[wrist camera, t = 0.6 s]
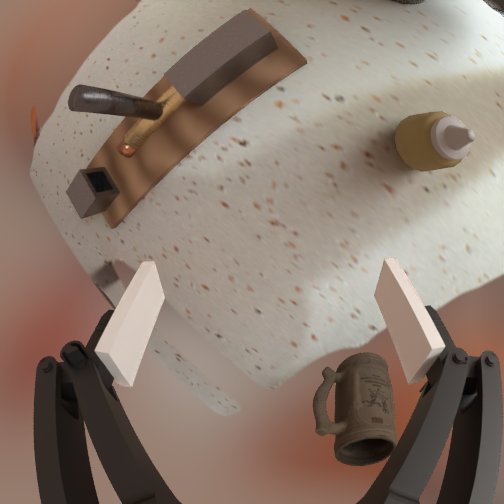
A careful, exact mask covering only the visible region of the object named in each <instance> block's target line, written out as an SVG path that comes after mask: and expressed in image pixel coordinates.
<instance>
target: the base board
mask: <svg viewBox="0 0 504 504" xmlns="http://www.w3.org/2000/svg"><path fill="white" fill-rule="evenodd" d="M247 11H248V12H249V13H250V14H251V15H252V16H254V17H255V18H256V19H257V20H258V21H260V22H261V23H262V24H263V25H264V26H265V27H266V28H267V29H269V30H270V31H271V34H272V36H273V38H274V40H275V42H276V45H277V47H278V49H277V50H275V51H274V52H272V53H271V54H269V55H268V56H266V57H265V58H263V59H262V60H260V61H259V62H258V63H256V64H255V65H253V66H252V67H251V68H249V69H248V70H247V71H245V72H244V73H242V74H241V75H240V76H239V77H237V78H236V79H235V80H233V81H232V82H231V83H229V84H228V85H227V86H226V87H224V88H223V89H222V90H221V91H219V92H218V93H217V94H216V95H215V96H213V97H212V98H211V99H210V100H209V101H207V102H206V103H205V104H204V105H203V106H201V105H198V104H196V103H193V102H191V101H188V100H187V101H185V102H184V103H183V104H182V105H181V106H180V107H179V108H178V109H177V110H176V111H175V112H174V113H173V114H172V115H171V116H170V117H169V118H168V119H167V120H166V121H165V122H164V123H163V124H162V125H161V126H160V127H159V128H158V129H157V130H156V131H155V132H154V133H153V134H152V135H151V136H150V137H149V138H148V139H147V140H146V141H145V142H144V143H143V144H142V146H141V147H140V148H139V149H138V150H137V151H136V152H135V153H134V155H133V156H132V157H131V158H126V157H124V156H122V155H121V154H120V153H119V152H118V150H117V148H116V146H117V144H118V143H119V142H120V141H121V139H122V138H123V137H124V136H125V135H126V133H127V132H128V131H129V130H130V129H131V128H132V127H133V125H134V124H135V123H136V122H137V121H138V120H139V119H140V118H133V117H125V119H124V120H123V121H122V122H121V123H120V125H119V126H118V127H117V128H116V129H115V131H114V132H113V133H112V134H111V136H110V137H109V138H108V140H107V141H106V142H105V143H104V145H103V146H102V147H101V149H100V150H99V151H98V153H97V154H96V156H95V157H94V158H93V160H92V161H91V163H90V164H89V165H88V167H87V168H86V169H90V168H98V167H105V168H106V170H107V171H108V173H109V175H110V176H111V178H112V180H113V181H114V183H115V184H116V186H117V188H118V189H119V191H120V194H119V195H118V196H117V197H116V198H115V200H114V201H113V202H112V203H111V205H110V206H109V207H108V208H107V210H106V211H105V212H102V214H103V216H104V217H105V219H106V221H107V222H108V224H109V225H110V227H111V229H113V228H115V227H117V226H118V225H119V224H120V223H121V221H122V220H123V219H124V218H125V217H126V216H127V215H128V214H129V213H130V211H131V210H132V209H133V208H134V207H135V206H136V205H137V204H138V203H139V202H140V201H141V200H142V199H143V198H144V196H145V195H146V194H147V193H148V192H149V191H150V190H151V189H152V188H153V187H154V186H155V185H156V184H157V183H158V182H159V181H160V180H161V179H162V178H163V177H164V176H165V175H166V174H167V173H168V172H169V171H170V170H172V169H173V168H174V167H175V166H176V165H177V164H178V163H179V162H180V161H181V160H182V159H183V158H184V157H185V156H186V155H188V154H189V153H190V152H191V151H192V150H193V149H194V148H195V147H196V146H198V145H199V144H200V143H201V142H202V141H203V140H204V139H206V138H207V137H208V136H209V135H210V134H211V133H213V132H214V131H215V130H216V129H217V128H219V127H220V126H221V125H222V124H223V123H225V122H226V121H227V120H228V119H230V118H231V117H232V116H233V115H235V114H236V113H237V112H238V111H240V110H241V109H242V108H244V107H245V106H246V105H248V104H249V103H250V102H251V101H253V100H254V99H255V98H257V97H258V96H260V95H261V94H262V93H264V92H265V91H266V90H268V89H269V88H271V87H272V86H274V85H275V84H276V83H278V82H279V81H281V80H282V79H284V78H285V77H287V76H288V75H290V74H291V73H293V72H294V71H296V70H297V69H299V68H300V67H302V66H303V65H305V64H307V60H306V59H305V58H304V57H303V56H302V55H301V54H300V53H299V52H298V51H297V50H296V49H295V48H294V47H293V46H292V45H291V44H290V43H289V42H288V41H287V40H286V39H285V38H284V37H283V36H282V35H281V34H280V33H279V32H278V31H277V30H275V29H274V28H273V27H272V26H271V25H270V24H269V23H268V22H266V21H265V20H264V19H263V18H262V17H261V16H259V15H258V14H257V13H256V12H255V11H253V10H252V9H251V8H250V9H248V10H247ZM171 86H172V84H171V83H170V82H169V80H168V79H167V78H166V77H165V76H164V77H163V78H162V79H161V80H160V81H159V82H158V83H157V84H156V85H155V86H154V87H153V88H152V89H151V90H150V91H149V92H148V93H147V94H146V95H145V96H144V97H143V98H145V99H149V100H153V101H157V100H158V99H159V98H160V97H161V96H162V95H163V94H164V93H165V92H166V91H167V90H168V89H169V88H170V87H171Z"/></svg>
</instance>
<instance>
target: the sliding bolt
mask: <svg viewBox="0 0 504 504" xmlns="http://www.w3.org/2000/svg"><path fill="white" fill-rule="evenodd" d="M185 101H187V100H186V99H183V98H182V96H181V95H180V94H179V93H178V91H177V90H176V89H175V88H174V86H173V85H172V86H171V87H170V88H169V89H168V90H167V91H166V92H165V93H164V94H163V95H162V96H161V97H160V98H159V99H158V100H157V101H153V100H149V99H145V98H141V97H137V96H133V95H129V94H125V93H121V92H116V91H111V90H107V89H102V88H97V87H91V86H86V85H77V86H76V87H74V89H73V90H72V91H71V93H70V96H69V100H68V106H69V109H70V110H71V111H78V112H90V113H101V114H110V115H118V116H126V117H133V118H140V119H139V120H138V121H137V122H136V123H135V124H134V125H133V127H132V128H131V129H130V130H129V131H128V132H127V133H126V135H125V136H124V137H123V138H122V139H121V141H120V142H119V143H118V144H117V146H116V148H117V150H118V152H119V153H120V154H121V155H122V156H124V157H126V158H131V157H132V156H133V155H134V153H135V152H136V151H137V150H138V149H139V148H140V147H141V146H142V144H143V143H144V142H145V141H146V140H147V139H148V138H149V137H150V136H151V135H152V134H153V133H154V132H155V131H156V130H157V129H158V128H159V127H160V126H161V125H162V124H163V123H164V122H165V121H166V120H167V119H168V118H169V117H170V116H171V115H172V114H173V113H174V112H175V111H176V110H177V109H178V108H179V107H180V106H181V105H182V104H183V103H184V102H185Z"/></svg>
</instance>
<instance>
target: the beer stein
mask: <svg viewBox="0 0 504 504" xmlns="http://www.w3.org/2000/svg"><path fill="white" fill-rule="evenodd" d="M322 375H323V377H324V381H323V383H322V384H321V386H320V387H319V388H318V390H317V391H316V393H315V396H314V400H313V410H314V415H315V419H316V433H318V434H319V435H322V436H323V435H326V434H328V433H329V434H335V435H336V439H335V443H334V451H335V457H336V459H337V460H338V461H340V462H341V463H344V464H347V465H352V466H364V465H371V464H375V463H378V462H380V461H383V460H384V459H386V458H387V457H389V456H390V455H391V454H392V453H393V451H394V449H395V447H396V443H397V435H396V432H395V405H394V400H393V393H392V385H391V381H390V378H389V374H388V365H387V363H386V361H385V360H384V359H383V358H382V357H381V356H379V355H377V354H373V353H360V354H355V355H353V356H350V357H348V358H347V359H346V360H344V361H343V362H342V363H341V364H340V365H339V367H338V369H337V371H336V372H334V371H333V370H331V369H330V368H329V367H326V368H325V369H324V370H323V372H322ZM335 382H336V390H335V419H334V420H335V423H333V422H331V421H330V420H329V418H328V415H327V411H326V400H327V397H328V394H329V391H330V389H331V387H332V385H333V383H335Z"/></svg>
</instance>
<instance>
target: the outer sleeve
mask: <svg viewBox="0 0 504 504" xmlns="http://www.w3.org/2000/svg"><path fill="white" fill-rule="evenodd" d="M277 49H278V47H277V45H276V42H275V40H274V38H273V36H272V34H271V31H270V30H269V29H267V28H266V27H265V26H264V25H263V24H262V23H261V22H260V21H258V20H257V19H256V18H255V17H254V16H252V15H251V14H250V13H249V12H248V11H246V10H244V11H242V12H241V13H239V14H238V15H236V16H235V17H233V18H232V19H231V20H229V21H228V22H226V23H225V24H224V25H222V26H221V27H219V28H218V29H217V30H215V31H214V32H213V33H211V34H210V35H209V36H208V37H206V38H205V39H204V40H203V41H201V42H200V43H199V44H198V45H196V46H195V47H194V48H193V49H192V50H190V51H189V52H188V53H187V54H186V55H185V56H183V57H182V58H181V59H180V60H179V61H178V62H177V63H176V64H175V65H173V66H172V67H171V68H170V69H169V70H168V71H167V72H166V73H165V74H164V75H165V77H166V78H167V79H168V80H169V82H170V83H171V84H172V85H173V86H174V88H175V89H176V90H177V91H178V93H179V94H180V95H181V96H182V98H183V99H186V100H188V101H191V102H193V103H196V104H198V105H201V106H203V105H204V104H205V103H206V102H207V101H209V100H210V99H211V98H212V97H213V96H215V95H216V94H217V93H218V92H219V91H221V90H222V89H223V88H224V87H226V86H227V85H228V84H229V83H231V82H232V81H233V80H235V79H236V78H237V77H239V76H240V75H241V74H242V73H244V72H245V71H247V70H248V69H249V68H251V67H252V66H253V65H255V64H256V63H258V62H259V61H260V60H262V59H263V58H265V57H266V56H268V55H269V54H271V53H272V52H274V51H275V50H277Z"/></svg>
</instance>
